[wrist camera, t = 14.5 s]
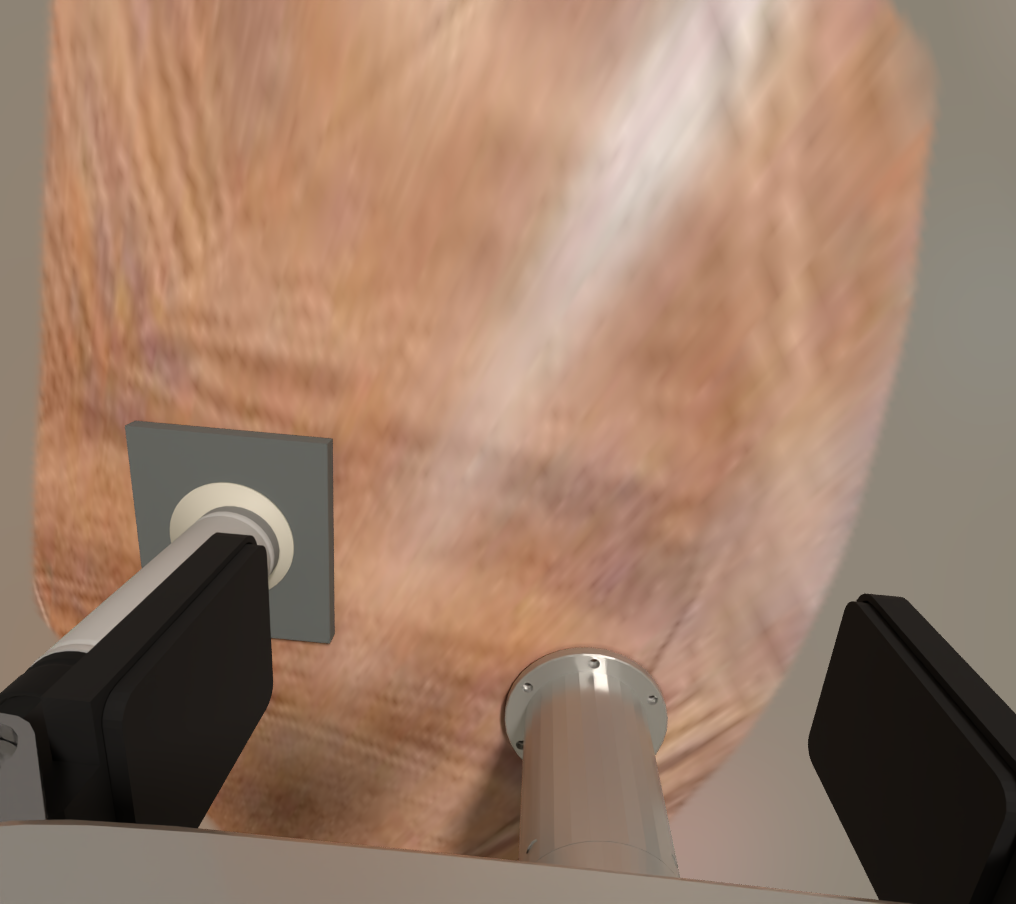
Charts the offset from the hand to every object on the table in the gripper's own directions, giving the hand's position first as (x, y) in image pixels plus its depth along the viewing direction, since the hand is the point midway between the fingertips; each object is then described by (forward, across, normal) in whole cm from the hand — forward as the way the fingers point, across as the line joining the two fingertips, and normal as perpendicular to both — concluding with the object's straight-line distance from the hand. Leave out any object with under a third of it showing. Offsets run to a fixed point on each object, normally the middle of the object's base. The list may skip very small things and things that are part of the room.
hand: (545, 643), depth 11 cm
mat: (+34, +21, +17) cm, 44 cm away
